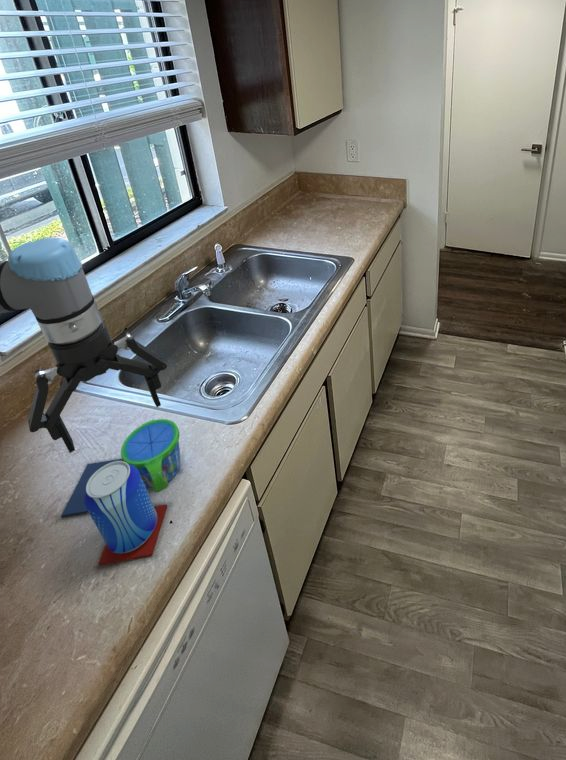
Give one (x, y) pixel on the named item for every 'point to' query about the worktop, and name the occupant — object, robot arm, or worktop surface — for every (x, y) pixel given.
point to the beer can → (120, 506)
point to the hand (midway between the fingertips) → (116, 423)
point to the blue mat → (82, 490)
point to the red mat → (141, 551)
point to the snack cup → (154, 452)
